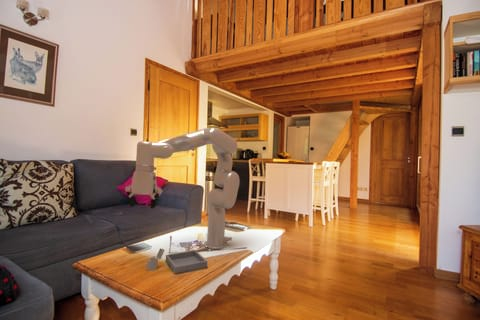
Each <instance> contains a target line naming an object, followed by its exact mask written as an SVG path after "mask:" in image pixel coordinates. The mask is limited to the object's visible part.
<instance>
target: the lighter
mask: <svg viewBox="0 0 480 320" xmlns="http://www.w3.org/2000/svg"><path fill="white" fill-rule="evenodd" d="M164 252H165V249H164V248H159V250H158V252H157V255H156V256H154V255H153V256H150V258H149V259H147V261H146V271H148V272H151V271H154V270H157V269H158V264H159V260H161V259H162V257H163V254H164Z"/></svg>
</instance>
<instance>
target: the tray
mask: <svg viewBox="0 0 480 320" xmlns="http://www.w3.org/2000/svg"><path fill="white" fill-rule="evenodd" d="M165 263H166V264H167V266H168V267H169V269H170V270H171V271H172V273H173V274H174V275H178V274H183V273H189V272H193V271H199V270H204V269H208V260H207V259H206V258H205V257H203V256H202V255H201V254H200V253H199V252H198V250H196V249H194V250H187V251H182V252H176V253H169V254H165Z"/></svg>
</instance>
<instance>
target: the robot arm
mask: <svg viewBox="0 0 480 320" xmlns="http://www.w3.org/2000/svg"><path fill="white" fill-rule="evenodd" d="M207 145H211V148H212V150H213V151H214V154H215V155H216V157H217V162H216V163H217V164H216V170H215V173H214V178H213V182H214V185H216V186H218V187H220V188H213V189H211V190H210V191H208V193H207V198H206V199H207V205H208V209H207V210H208V212H207V213H208V215H207V216H208V218H207V236H206V237H207V239H206V241H205V242H204V245H205V246H207V247H209V248H208V249H210V248H211V249H212V250H222V249H225V248H226V247H227V246H228V245H227V242H229V241H230V242H231V241H232V240H233V238H232V236H229V237H228V236H225V234H226V233H225V230H226V229H225V228H226V209H231V208H233V207H234V205H235V203H236V201H237V197H238V191H239V188H240V176H239V174H238V173H237V172H236V171H233V170H232V168H233V157H232V155H231V154H234V153H235V152H237V150H238V143H237V140H236V139H235V138H234V137H232V136H230V135H229V134H228V133H226V132H224V131H223V130H221V129H220V128H218V127H208V128H207V127H205V128H202V129H198V130H195V131H194V130H193V131H192V132H188V133H184V134H181V135H178V136H175V137H171V138H167V139H163V140H161V141H160V140H159V141H158V142H157V141H156V142H153V141H143V140H141V141H138V142H137V144H136V158H135V171H134V172H133V176H132V179H131V181H132V182H131V184H129V185H127V186H125V187H124V189H125V192H126V194H127V195H128V198H129V206H130V208H132V207H135V206H136V201H137V200H136V195H147V196H150V198H151V200H150V209H155V208H156V206H157V199H158V198H159V197H160V196H161V195H162V193H163V189H162V188H161V187H159V186H158V183H157V175H156V172H154V171H156V170H157V167H156V166H155V165H154V164H155V159H161V160H163V159H164V160H166V159H169V158H170V157H172V156H173V155H174V154H173V153H181V152H188V151H192V150H196V149H198V148H200V147H201V148H202V147H204V146H207ZM204 245H203V246H204ZM205 246H204V247H205ZM207 247H206V248H207ZM211 249H210V250H211Z"/></svg>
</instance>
